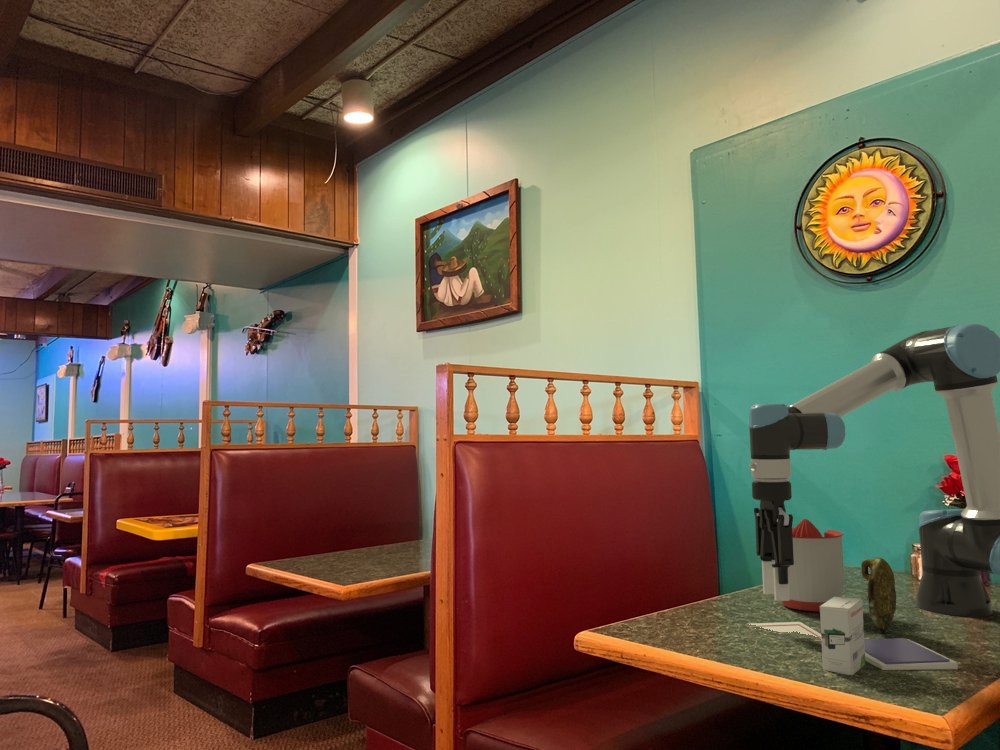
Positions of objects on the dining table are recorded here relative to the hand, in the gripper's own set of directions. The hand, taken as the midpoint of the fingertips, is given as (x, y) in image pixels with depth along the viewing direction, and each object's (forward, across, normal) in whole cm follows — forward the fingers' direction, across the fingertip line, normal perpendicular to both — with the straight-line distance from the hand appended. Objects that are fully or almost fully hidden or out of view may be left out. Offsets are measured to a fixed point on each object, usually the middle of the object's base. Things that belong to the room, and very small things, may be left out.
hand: (776, 596), depth 148 cm
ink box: (+8, +22, +2) cm, 24 cm away
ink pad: (+8, +17, +14) cm, 23 cm away
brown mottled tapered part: (+8, 0, +20) cm, 22 cm away
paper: (+8, 0, 0) cm, 8 cm away
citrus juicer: (+8, -22, +17) cm, 29 cm away
